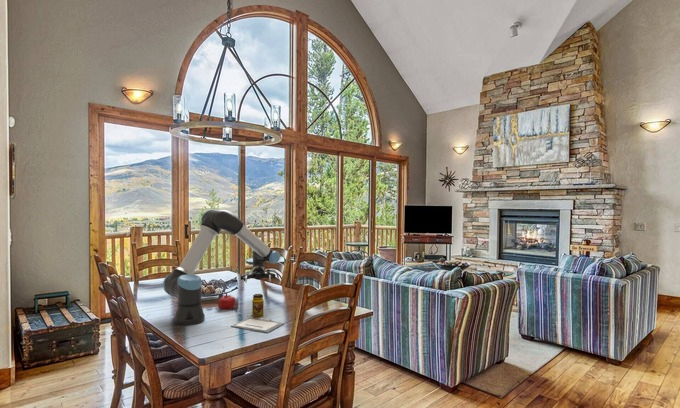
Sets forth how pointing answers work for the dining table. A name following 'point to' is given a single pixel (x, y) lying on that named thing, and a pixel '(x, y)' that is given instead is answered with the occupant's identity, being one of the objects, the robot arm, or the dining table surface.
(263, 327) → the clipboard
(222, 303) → the pomegranate
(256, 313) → the condiment
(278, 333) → the dining table surface
